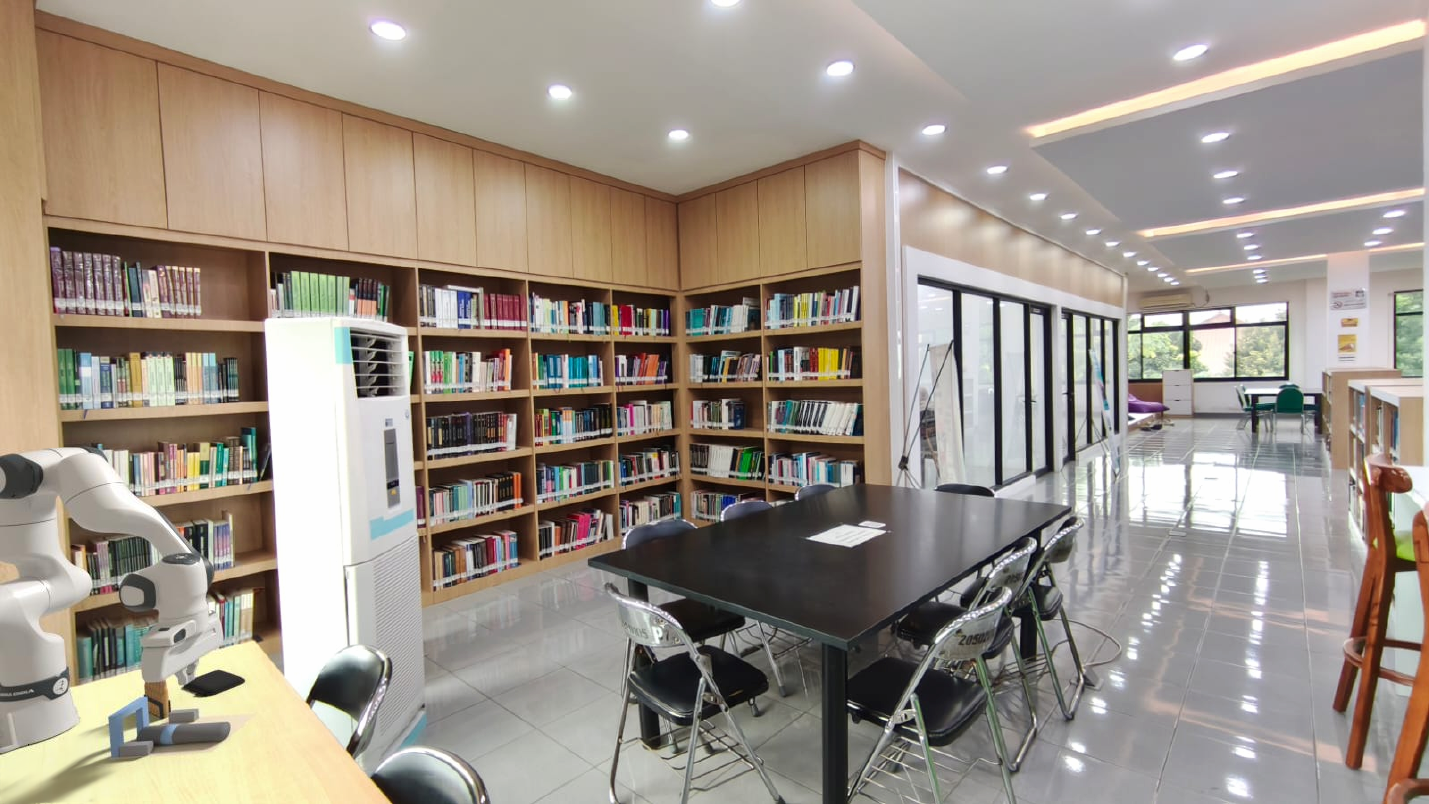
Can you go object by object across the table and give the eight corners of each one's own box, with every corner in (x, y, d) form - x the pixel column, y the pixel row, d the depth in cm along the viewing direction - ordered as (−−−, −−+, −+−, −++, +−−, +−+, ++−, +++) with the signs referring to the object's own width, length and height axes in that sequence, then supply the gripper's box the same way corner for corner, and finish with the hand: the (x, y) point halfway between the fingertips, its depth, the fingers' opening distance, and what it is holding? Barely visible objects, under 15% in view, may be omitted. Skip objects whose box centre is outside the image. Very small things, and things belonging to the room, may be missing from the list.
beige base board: (108, 763, 141) (107, 748, 141) (167, 723, 157) (166, 709, 157) (211, 756, 143) (210, 741, 142) (259, 717, 159) (258, 703, 159)
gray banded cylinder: (135, 749, 144) (136, 730, 144) (149, 742, 148) (151, 723, 149) (217, 743, 145) (219, 724, 146) (229, 737, 149) (231, 718, 150)
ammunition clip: (172, 720, 159) (168, 673, 159) (163, 723, 157) (159, 676, 157) (153, 710, 164) (150, 665, 164) (144, 713, 163) (141, 668, 162)
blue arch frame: (111, 758, 141) (108, 716, 141) (142, 736, 150) (140, 697, 150) (118, 757, 142) (115, 716, 141) (150, 735, 150) (147, 696, 150)
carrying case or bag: (176, 693, 173) (204, 704, 167) (175, 683, 173) (203, 693, 167) (220, 676, 183) (248, 686, 176) (219, 666, 183) (247, 676, 176)
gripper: (203, 608, 156) (205, 662, 156) (133, 643, 135) (136, 705, 136) (229, 607, 156) (232, 661, 157) (164, 642, 136) (167, 704, 136)
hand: (186, 682), depth 146 cm, fingers closed
